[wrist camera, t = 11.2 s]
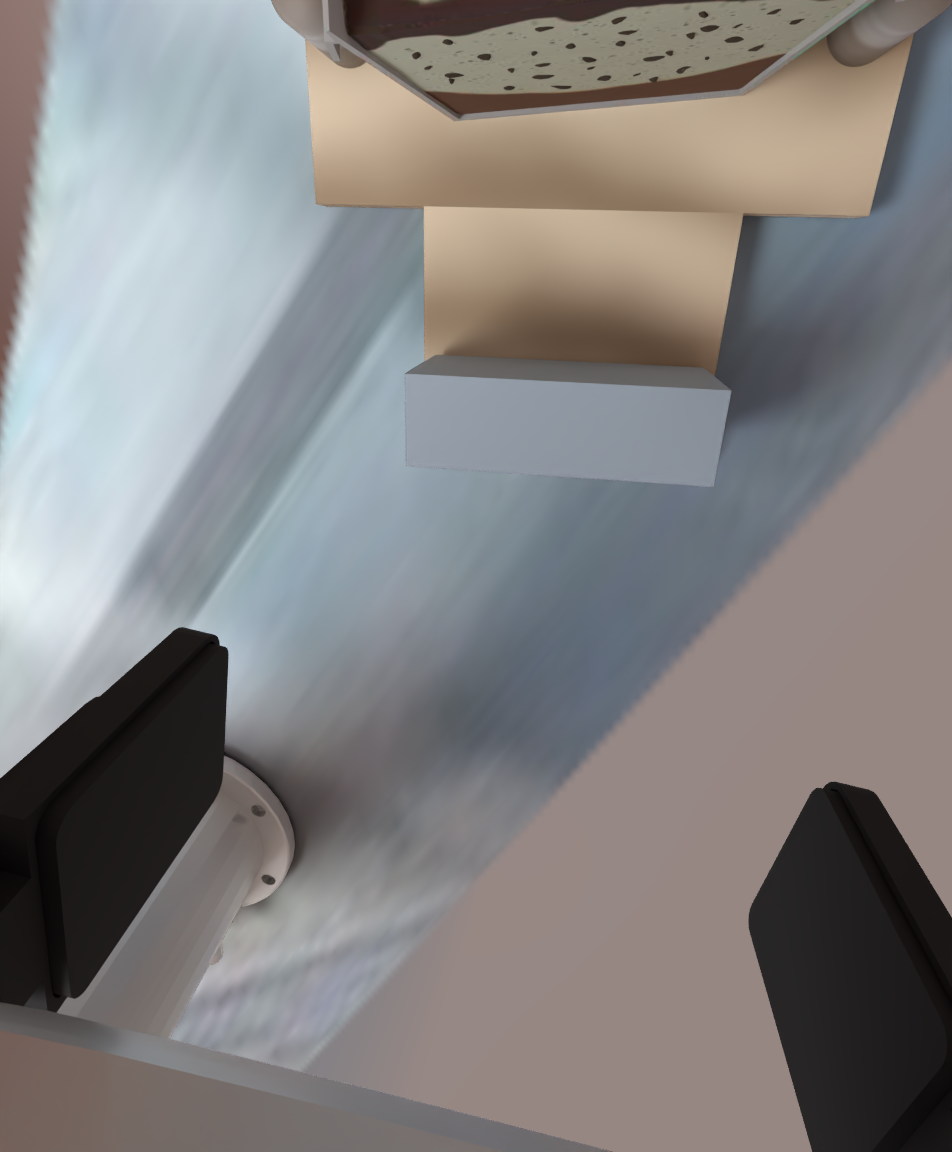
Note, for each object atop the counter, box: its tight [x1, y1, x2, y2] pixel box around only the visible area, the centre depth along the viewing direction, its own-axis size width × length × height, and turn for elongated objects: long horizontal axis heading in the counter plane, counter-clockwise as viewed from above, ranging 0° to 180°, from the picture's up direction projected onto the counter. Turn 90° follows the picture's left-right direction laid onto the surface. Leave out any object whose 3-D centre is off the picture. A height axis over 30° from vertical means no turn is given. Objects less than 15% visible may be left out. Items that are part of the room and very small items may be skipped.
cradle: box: [271, 0, 952, 376], centre depth 21 cm, size 21×19×5 cm
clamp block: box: [405, 355, 731, 487], centre depth 23 cm, size 3×10×5 cm, turn 88°
